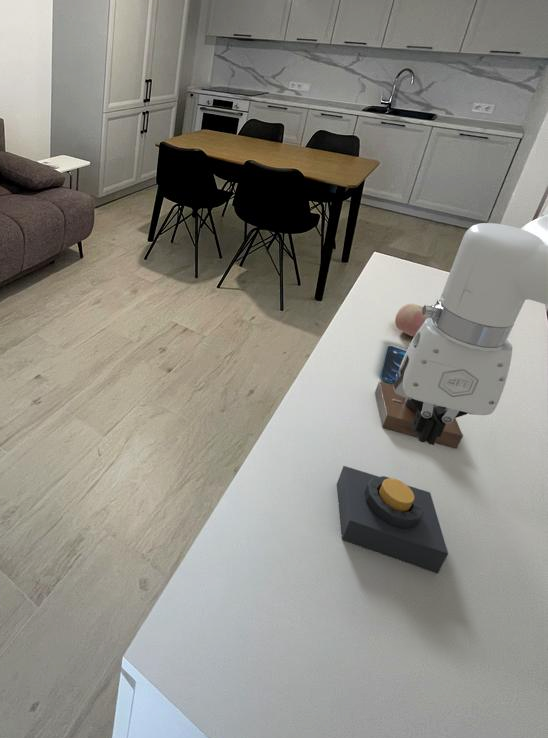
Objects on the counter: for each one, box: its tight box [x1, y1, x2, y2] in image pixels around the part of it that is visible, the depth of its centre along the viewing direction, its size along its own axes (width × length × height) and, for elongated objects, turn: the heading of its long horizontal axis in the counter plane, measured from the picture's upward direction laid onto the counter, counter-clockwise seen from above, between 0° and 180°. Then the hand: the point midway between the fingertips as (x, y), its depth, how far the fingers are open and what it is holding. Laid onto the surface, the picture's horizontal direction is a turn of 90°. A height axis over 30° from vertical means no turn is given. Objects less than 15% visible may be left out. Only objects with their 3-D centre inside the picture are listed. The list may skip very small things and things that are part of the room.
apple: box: [394, 303, 429, 338], centre depth 118 cm, size 8×8×8 cm
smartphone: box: [379, 345, 407, 385], centre depth 107 cm, size 8×1×15 cm
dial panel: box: [374, 381, 463, 449], centre depth 93 cm, size 12×10×3 cm
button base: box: [336, 465, 449, 574], centre depth 72 cm, size 12×10×6 cm
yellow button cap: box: [379, 477, 414, 511], centre depth 70 cm, size 4×4×2 cm
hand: (423, 435), depth 68 cm, fingers closed
